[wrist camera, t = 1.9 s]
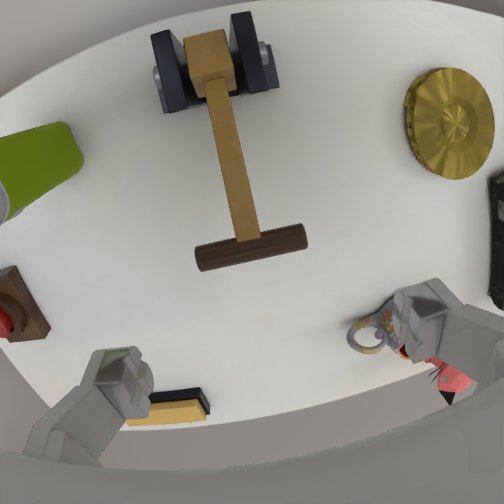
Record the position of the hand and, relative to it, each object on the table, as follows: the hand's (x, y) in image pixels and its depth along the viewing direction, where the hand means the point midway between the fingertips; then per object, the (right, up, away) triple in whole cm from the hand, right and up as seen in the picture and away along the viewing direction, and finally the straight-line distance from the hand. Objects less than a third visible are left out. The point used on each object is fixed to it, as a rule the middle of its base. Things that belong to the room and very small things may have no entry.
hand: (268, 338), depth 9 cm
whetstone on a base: (-14, -20, +34) cm, 42 cm away
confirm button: (-32, -6, +21) cm, 39 cm away
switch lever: (-2, +8, +6) cm, 10 cm away
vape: (-19, +12, +17) cm, 28 cm away
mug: (+16, -5, +29) cm, 33 cm away
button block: (-32, -4, +24) cm, 40 cm away
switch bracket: (-4, +18, +15) cm, 23 cm away
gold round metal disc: (+20, +17, +18) cm, 32 cm away
